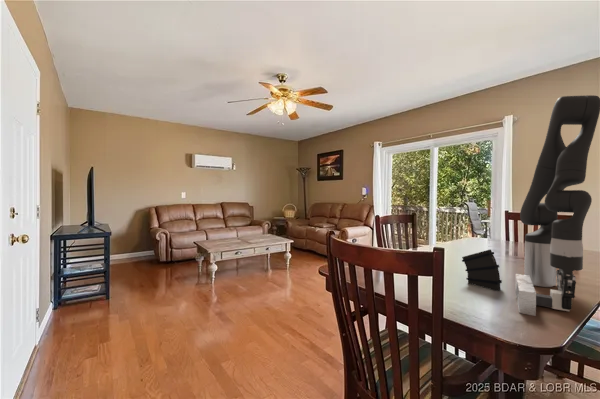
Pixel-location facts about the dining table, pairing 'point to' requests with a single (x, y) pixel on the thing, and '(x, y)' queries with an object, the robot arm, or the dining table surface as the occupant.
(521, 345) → the dining table surface
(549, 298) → the plug
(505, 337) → the dining table surface
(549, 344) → the dining table surface
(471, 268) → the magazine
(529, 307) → the housing
